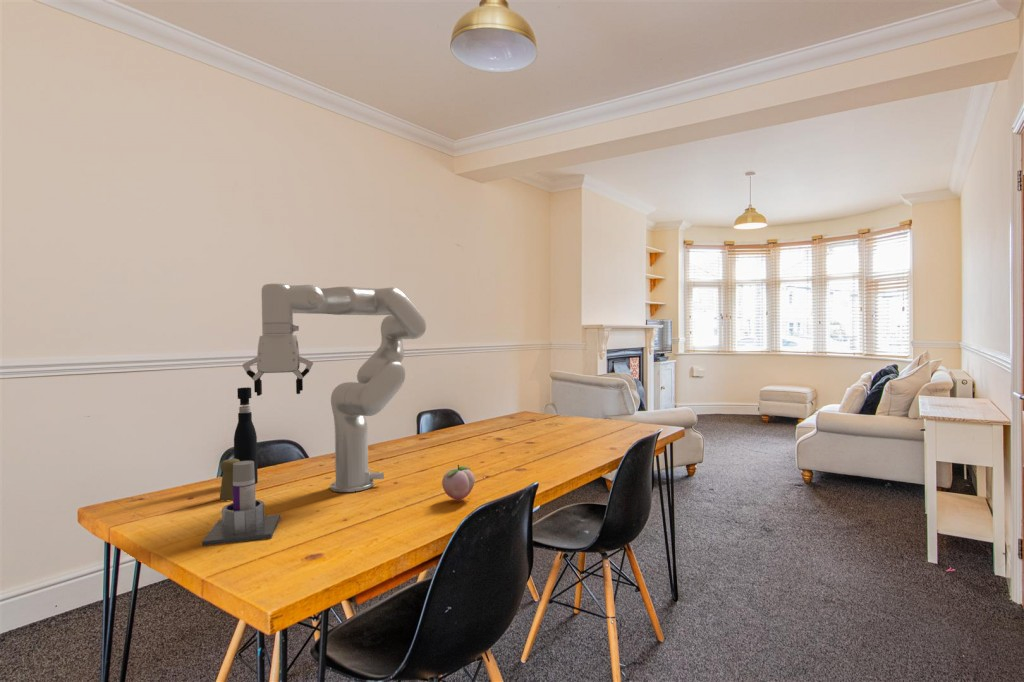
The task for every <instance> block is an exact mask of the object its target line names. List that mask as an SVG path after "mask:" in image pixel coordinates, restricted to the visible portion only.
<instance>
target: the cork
mask: <svg viewBox="0 0 1024 682" xmlns="http://www.w3.org/2000/svg"><path fill="white" fill-rule="evenodd" d="M236 462H240V460H238V459H234V458H229V459H225V460H222V461H221V463H220V471H221V472H222V475H221V476H222V478H221V483H220V492H219V501H220V500H233V463H236Z"/></svg>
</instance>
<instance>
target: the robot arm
mask: <svg viewBox="0 0 1024 682" xmlns="http://www.w3.org/2000/svg"><path fill="white" fill-rule="evenodd" d="M294 314H307V315H308V314H309V315H310V314H311V315H312V314H315V315H316V314H317V315H319V314H320V315H337V316H340V315H341V316H385V317H384V318H383V319H382V321H381V323H380V324H381V325H380V334H381V341H380V346H379V347H378V348H377V350H375V351H374V353H373V354H372V355H371V356H369V358H367V360H366V361H365V362H364V363H363V364H362V365H361V366H360V367H359V369H358V371H357V375H356V380H357V382H353V381H350V382H349V381H346V382H342V383H340V384H338V385H337V386H335V388H334V389H333V390H332V392H331V396H330V403H331V405H330V406H331V411H332V414H333V422H334V423H333V424H334V458H335V459H334V460H335V461H334V463H335V464H334V465H335V467H334V468H335V469H334V470H335V481H332V482H331V483H330V486H329V488H330V490H331V491H332V492H336V493H354V492H355V491H356V492H360V491H365V490H368V489H370V488H372V487H373V486H374V484H375V482H374V480H383V479H385V476H384V475H385V474H384V472H380V471H375V472H372V471H370V468H369V447H368V446H369V444H368V443H369V441H368V436H369V432H368V430H369V429H368V428H369V427H368V422H367V419H366V417H372V416H375V415H377V414H378V413H380V412H381V411H382V410H384V408H385V407H386V406H387V404H388V403H390V401H391V400H392V399H393V397H395V395H396V394H397V393H398V392H399V390H400V389H401V388H402V386H403V385H404V382H405V378H406V370H405V368H404V367H405V366H404V365H403V364H402V361H403V359H404V355H405V354H404V351H405V350H404V344H403V340H415V339H419V338H421V337H422V336H423V335H424V334H425V332H426V330H427V323H426V320H425V317H424V316H423V315H422V313H421V312H420V311H419V310H418V308H417V307H416V306H415V305H414V303H413V302H412V301H411V300H410V299H409V297H407V295H405V293H404V292H402V291H401V290H400V289H398V288H397V287H382V288H370V287H356V286H336V287H325V288H319V287H317V286H315V285H313V284H300V285H289V284H286V283H265V284H263V286H262V287H261V324H262V325H261V329H262V330H261V333H262V335H259V339H258V344H257V352H256V353H257V356H256V357H255V358H252V359H251V360H248V361H246V362H244V363H243V364H242V366H241V367H242V368H243V369H244V371H245V372H246V375H247V376H248V377H250V378H251V380H252V381H253V382H254V383H253V384H254V386H253V387H254V393H256V396H257V397H259V396H261V395H262V394H263V386H262V383H263V382H262V380H261V377H262V376H263V375H264V374H278V373H284V374H285V373H293V374H294V375H295V376H296V380H295V387H296V388H295V391H296V392H295V394H296V395H300V394H301V391H303V389H304V388H303V386H304V385H303V382H304V381H303V379H304V377H305V376H307V375H308V373H310V372H311V370H312V367H313V365H314V362H313V361H311V360H309V359H307V358H305V357H303V356H300V351H299V350H300V349H299V341H298V337H297V335H294V333H295V332H298V331H300V330H299V328H300V326H299V325H295V324H294V317H293V316H294ZM301 363H302V364H304V365H305V368H304V370H303V371H302V372H301V370H300V364H301ZM255 364H256V370H257V372H256V373H255V371H253V370H252V367H251V366H253V365H255Z"/></svg>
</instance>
